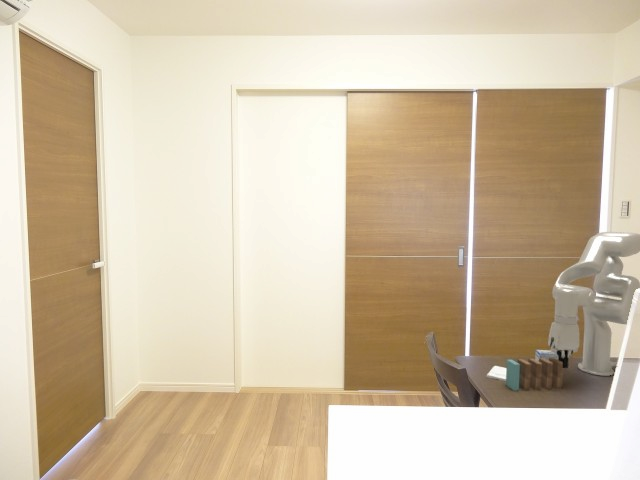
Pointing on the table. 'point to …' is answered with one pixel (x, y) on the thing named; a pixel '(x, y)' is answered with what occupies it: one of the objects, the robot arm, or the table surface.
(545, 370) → the brown flat rectangular block
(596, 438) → the table surface
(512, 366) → the tile
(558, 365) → the tile
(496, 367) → the external hard drive
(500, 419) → the table surface
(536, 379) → the brown wooden block
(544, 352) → the medicine box
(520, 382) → the tile
